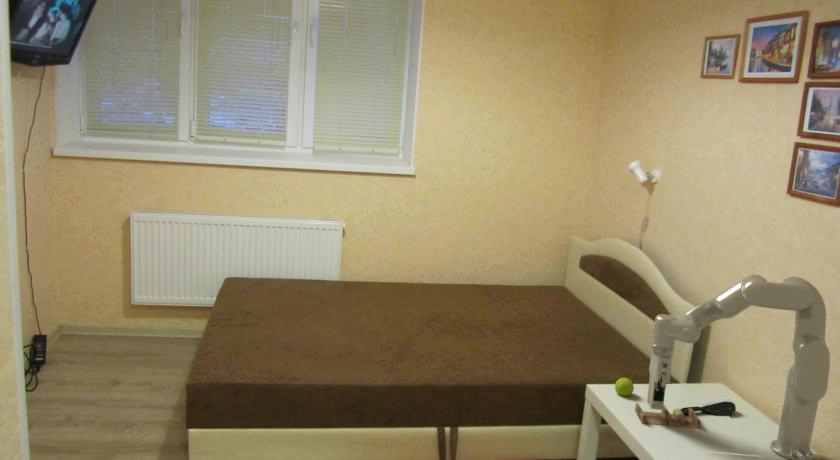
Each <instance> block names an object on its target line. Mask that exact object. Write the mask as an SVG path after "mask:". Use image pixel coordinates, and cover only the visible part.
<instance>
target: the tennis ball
mask: <svg viewBox="0 0 840 460" xmlns="http://www.w3.org/2000/svg"><path fill="white" fill-rule="evenodd" d="M614 390H615V392H616V394H618V395H619V396H622V397H629V396H631V395H632V394H633V392H634V390H635V387H634V383H633V381H631V380H630V379H629V378H626V377H621V378H619V379H617V380H616V381H615V385H614Z"/></svg>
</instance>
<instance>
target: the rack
mask: <svg viewBox="0 0 840 460" xmlns="http://www.w3.org/2000/svg"><path fill="white" fill-rule="evenodd" d="M634 408H635V409H634V412H635V414H636V415H637V417H638V419H639V421H640V422H641V424H643V425H653V426H661V427H662V426H664V427H665V426H666V427H674V428H683V429H684V428H685V429H686V428H687V429H695V430H696V429H698V430H700V427H701V420H700V418H699V416H698V415H697V414H696V411H695V412H694V411H693V410H692V408H689V411H688V412H689V413H688V414H687V415H684V416H685V417H686V418H687V420H688V423H687V424H686V425H681V424H680V423H679V422H678V420H677V419H676V417H675V416H674V414H673V413H670V411H669V410H668V409H667V407H666V406H665V405H663V410H661V412H656V411H655V412H654V411H644V410H643V409H642V408H641V406H640V404H639V403H638V402H636V403H635V407H634Z"/></svg>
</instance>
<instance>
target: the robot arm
mask: <svg viewBox="0 0 840 460" xmlns="http://www.w3.org/2000/svg"><path fill="white" fill-rule="evenodd" d="M752 306H753V307H758V308H759V307H760V308H766V309H774V310H784V311H791V312H795V321H794V323H795V324H794V333H793V339H792V341H793V342H792V351H793V353H794V363H793V364H792V365H791V366H790V368H789V370H788V372H787V376H786V387H785V393H784V394H785V395H784V402H783V405H782V410H781V418H780V421H779V428H778V433H777V438H776V439H775V440H772V441H771V442H770V448H771V449H772V451H773V452H774V453H776V454H777V455H779V456H780V457H782V458H785V459H788V460H813V459H814V456H815V455H814V452H813V451H812V450H811V447H810V446H811V441H812V436H813V432H814V425H815V421H816V415H817V411H818V405H819V401H821V400H822V399H823V398H824V397H825V395H826V394H827V391H828V385H829V375H830V366H831V354H830V353H831V352H830V350H829V347H828V345H827V343H826V328H827V327H826V324H827V323H826V322H827V309H826V305H825V302H824V298H823V297H822V295H821V293H820V292H819V290H818V289H817V288H816V286H815V285H814V284H812V283H811V282H809V281H807V280H806V279H804V278H803V277H802V278H801V277H799V276H789V277H786V278H785V279H784V280H782V281H781V283H780V282H773V281H772V282H771V281H767V279H766V278H764V277H763V276H762V275H760V274H750V275H747V276H746V277H744V278H743V279H740V280H739V281H738V282H736V283H734V284H733V285H732V286H731V287H729V288H727V289H725V290H724V291H723V292H721V293H719V294H718V295H717V296H715V297H712V298H710V299H709V300H707V301H704V302H703V303H700V304H699V305H697V306H696V307H693V308H692V309H690V310H689V311H688V312H687V313H685V314H684V315H682V316H681V317H680V319H679V320H678V319H677V318H676V317H675V316H673V315H671V314H664V313H661V314H657V315H656V316H655V319H654V323H653V324H654V325H653V329H652V330H653V331H652V339H651V346H650V353H651V355H650V356H651V357H650V361H649V368H648V373H649V374H650V373H651V374H652V376H653V377H654V378H655V382H656V390H655V392H654V399H653V400H654V401H661V402H662V401H663V397H664V398H665V396H664V392H666V388H667V385H668V384H669V385H670V382H671V372H672V357H673V355H674V349H675V343H676V341H679V342H682V343H685V344H694V343H697V341H698V340H699V339H700V337H701V331H702V330H703V329H705V327H707V326H709V325H711V324H712V323H714V322H716V321H718V320H723V319H724V320H725V319H726V320H728V319H732V318H735V317H736V316H737V315H739V314H740V313H742V312H744V311H746V309H749V308H750V307H752ZM658 380H661V382H658ZM658 384H661V386H659V387H658Z"/></svg>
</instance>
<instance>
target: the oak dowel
mask: <svg viewBox="0 0 840 460" xmlns="http://www.w3.org/2000/svg"><path fill="white" fill-rule="evenodd" d="M680 409H681V408H675V409H674V410H673V411H672V414H674V416H675V417H676V419H677V420H678V422H679V423H680V424H681V425H686V424H687V423H688V420H687V418H686V417H685V416H684V414H683V413H682V411H681V410H680Z"/></svg>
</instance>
